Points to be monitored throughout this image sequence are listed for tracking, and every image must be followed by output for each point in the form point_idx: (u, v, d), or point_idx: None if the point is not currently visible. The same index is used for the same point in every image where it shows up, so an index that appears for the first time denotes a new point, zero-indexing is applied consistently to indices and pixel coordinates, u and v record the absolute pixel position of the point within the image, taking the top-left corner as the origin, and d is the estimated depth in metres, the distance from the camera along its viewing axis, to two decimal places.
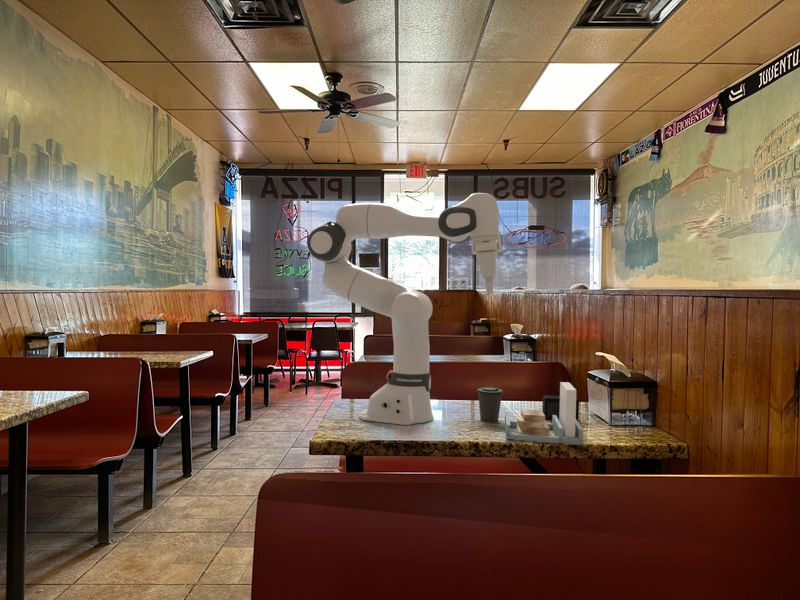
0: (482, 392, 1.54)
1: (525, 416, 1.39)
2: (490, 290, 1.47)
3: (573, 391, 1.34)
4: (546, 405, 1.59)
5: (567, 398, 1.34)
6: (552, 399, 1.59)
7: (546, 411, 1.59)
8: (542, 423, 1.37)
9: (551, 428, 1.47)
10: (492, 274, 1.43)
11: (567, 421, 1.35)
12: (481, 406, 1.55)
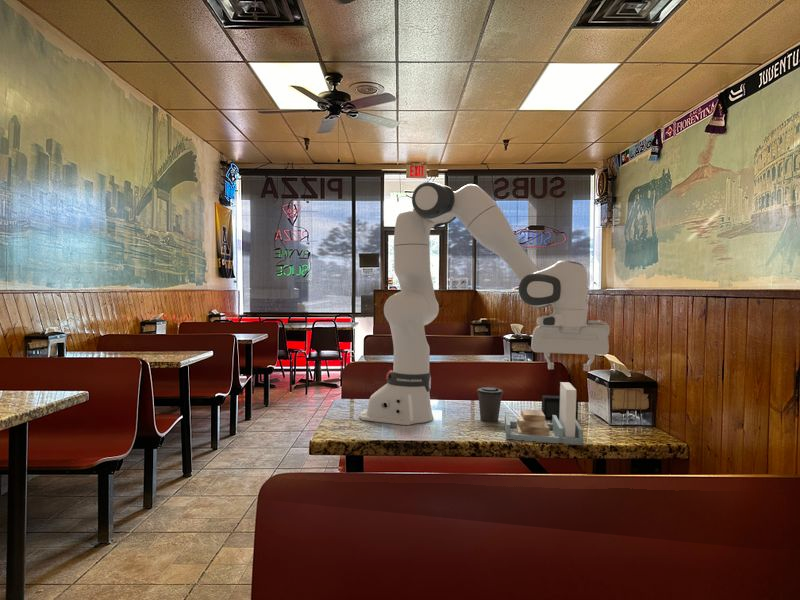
0: (482, 392, 1.54)
1: (525, 416, 1.39)
2: (548, 366, 1.41)
3: (573, 391, 1.34)
4: (545, 405, 1.59)
5: (567, 398, 1.34)
6: (551, 399, 1.59)
7: (545, 411, 1.59)
8: (542, 423, 1.37)
9: (551, 428, 1.47)
10: None
11: (567, 421, 1.35)
12: (481, 406, 1.55)
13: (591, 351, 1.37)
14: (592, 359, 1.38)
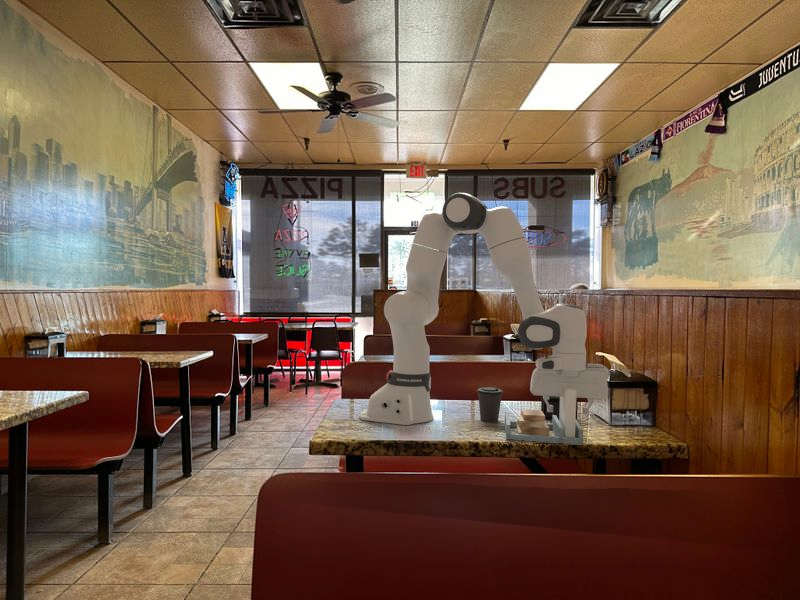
0: (482, 392, 1.54)
1: (525, 416, 1.39)
2: (547, 408, 1.41)
3: (573, 391, 1.34)
4: (545, 405, 1.59)
5: (567, 398, 1.34)
6: (551, 399, 1.59)
7: (545, 411, 1.59)
8: (542, 423, 1.37)
9: (551, 428, 1.47)
10: (531, 392, 1.41)
11: (567, 421, 1.35)
12: (481, 406, 1.55)
13: (590, 395, 1.37)
14: (591, 403, 1.38)
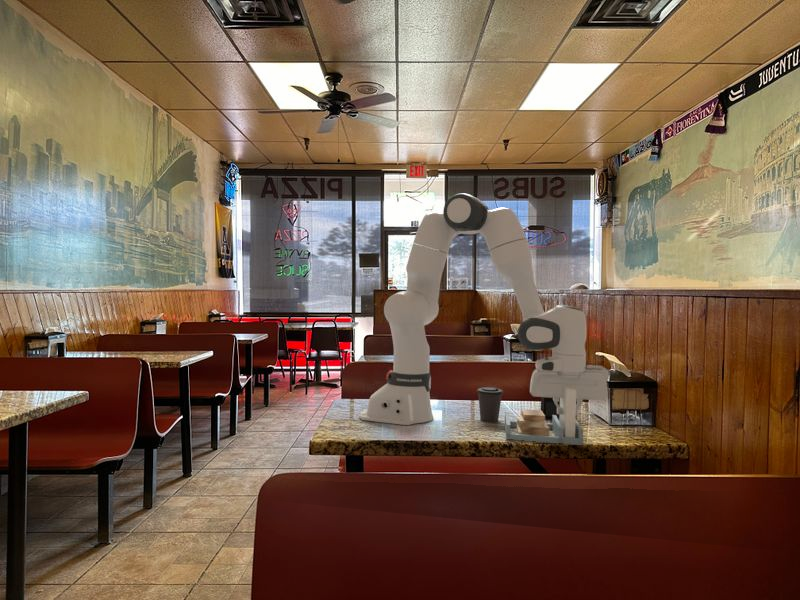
0: (482, 392, 1.54)
1: (525, 416, 1.39)
2: (557, 410, 1.40)
3: (573, 391, 1.34)
4: (545, 405, 1.59)
5: (567, 398, 1.34)
6: (551, 399, 1.59)
7: (545, 411, 1.59)
8: (542, 423, 1.37)
9: (551, 428, 1.47)
10: None
11: (567, 421, 1.35)
12: (481, 406, 1.55)
13: (590, 396, 1.38)
14: (580, 403, 1.39)
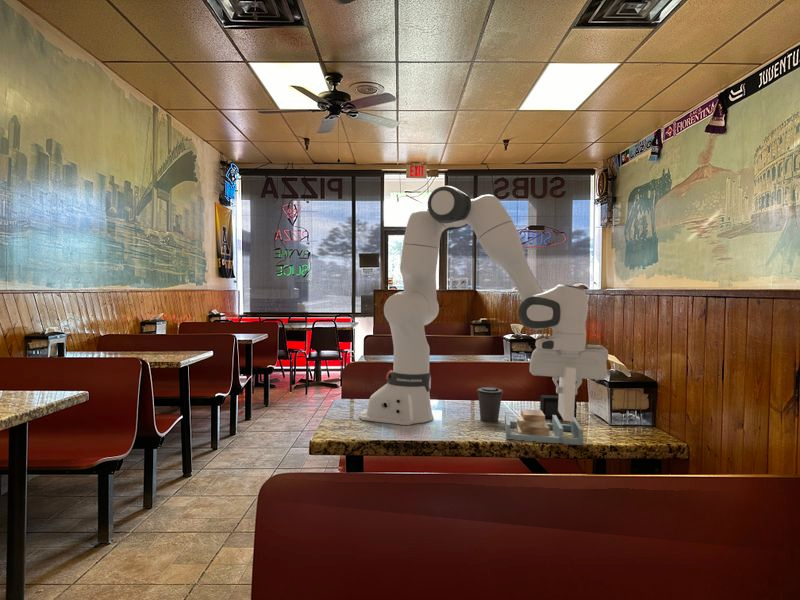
0: (482, 392, 1.54)
1: (525, 416, 1.39)
2: (556, 390, 1.41)
3: (573, 369, 1.34)
4: (544, 405, 1.59)
5: (567, 376, 1.34)
6: (550, 399, 1.59)
7: (544, 411, 1.59)
8: (542, 423, 1.37)
9: (551, 428, 1.47)
10: (531, 373, 1.41)
11: (566, 399, 1.35)
12: (481, 406, 1.55)
13: (589, 376, 1.38)
14: (579, 383, 1.39)
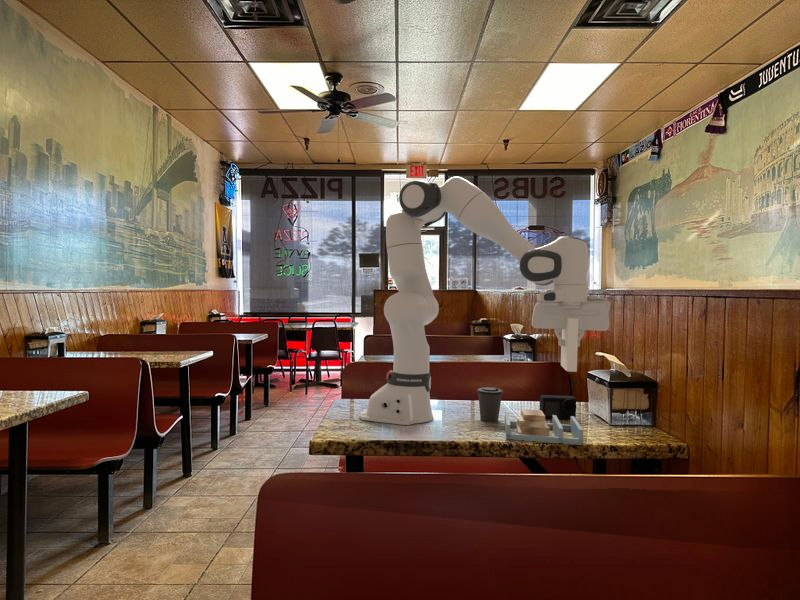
0: (482, 392, 1.54)
1: (525, 416, 1.39)
2: (559, 342, 1.40)
3: (575, 320, 1.34)
4: (544, 405, 1.59)
5: (569, 327, 1.34)
6: (550, 398, 1.59)
7: (544, 411, 1.59)
8: (542, 423, 1.37)
9: (551, 428, 1.47)
10: (533, 326, 1.41)
11: (569, 349, 1.34)
12: (481, 406, 1.55)
13: (592, 327, 1.37)
14: (582, 335, 1.38)
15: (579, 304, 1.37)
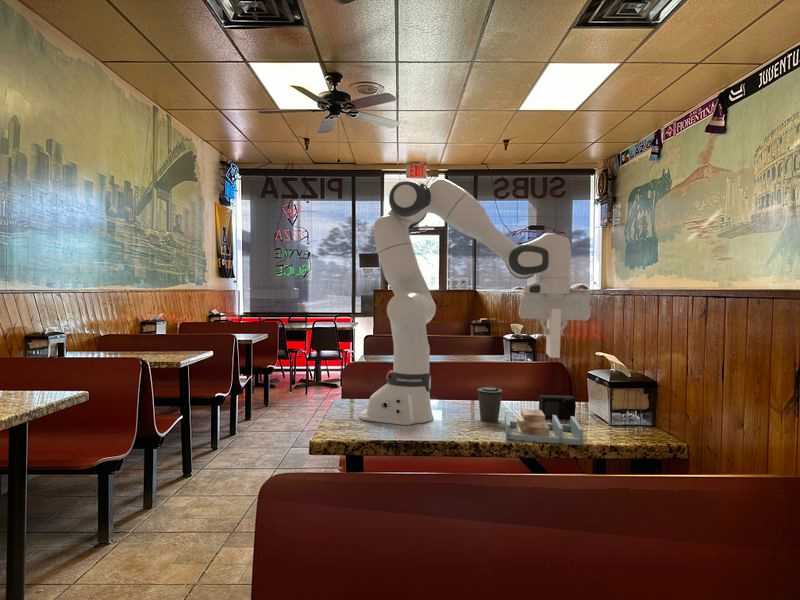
0: (482, 392, 1.54)
1: (525, 416, 1.39)
2: None
3: (558, 310, 1.45)
4: (544, 404, 1.60)
5: (552, 316, 1.46)
6: (550, 398, 1.60)
7: (544, 410, 1.60)
8: (542, 423, 1.37)
9: (551, 428, 1.47)
10: (520, 316, 1.52)
11: (552, 337, 1.46)
12: (481, 406, 1.55)
13: (574, 317, 1.49)
14: (565, 324, 1.50)
15: (562, 296, 1.49)
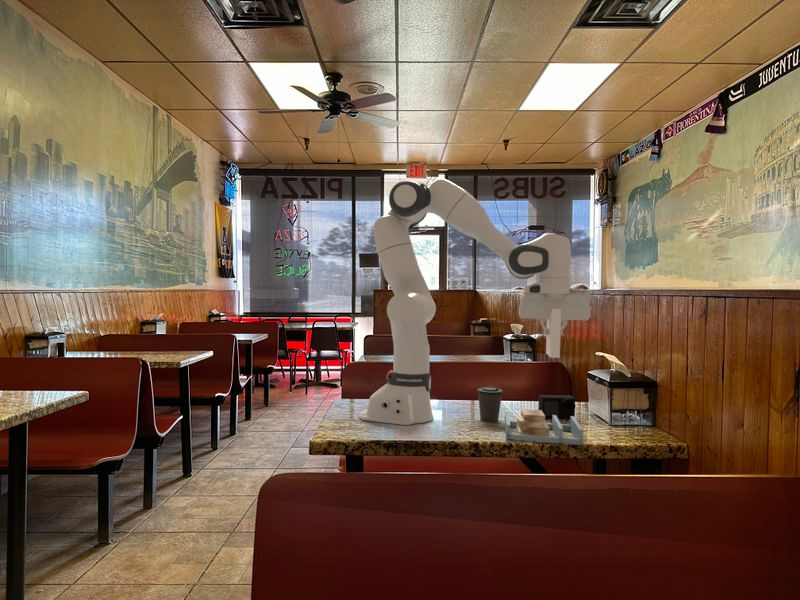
0: (482, 392, 1.54)
1: (525, 416, 1.39)
2: None
3: (558, 310, 1.45)
4: (543, 404, 1.60)
5: (552, 316, 1.46)
6: (549, 398, 1.60)
7: (543, 410, 1.60)
8: (542, 423, 1.37)
9: (551, 428, 1.47)
10: (520, 316, 1.52)
11: (552, 337, 1.46)
12: (481, 406, 1.55)
13: (574, 317, 1.49)
14: (565, 324, 1.50)
15: (562, 296, 1.49)
